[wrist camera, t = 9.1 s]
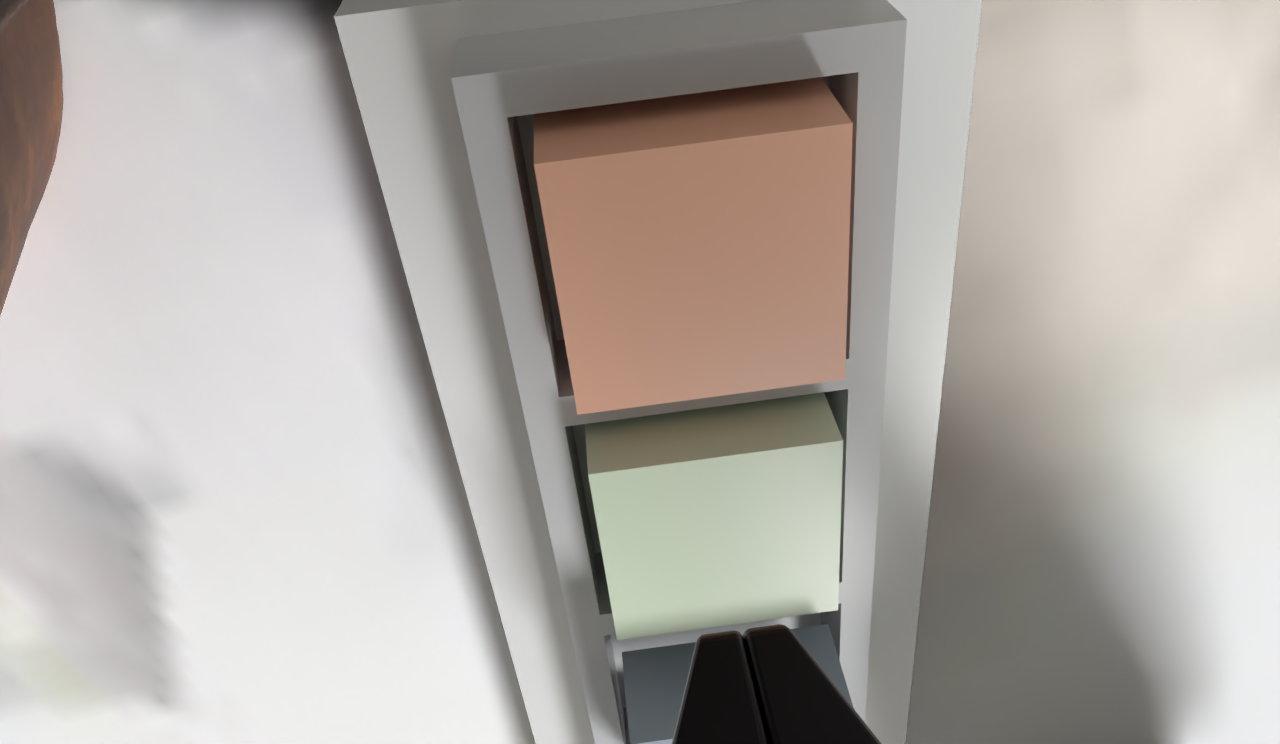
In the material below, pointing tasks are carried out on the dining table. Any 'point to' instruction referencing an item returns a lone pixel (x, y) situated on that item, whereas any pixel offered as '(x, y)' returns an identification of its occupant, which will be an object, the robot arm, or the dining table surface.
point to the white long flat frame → (530, 319)
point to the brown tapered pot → (26, 120)
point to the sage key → (718, 514)
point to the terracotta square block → (699, 241)
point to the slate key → (664, 673)
